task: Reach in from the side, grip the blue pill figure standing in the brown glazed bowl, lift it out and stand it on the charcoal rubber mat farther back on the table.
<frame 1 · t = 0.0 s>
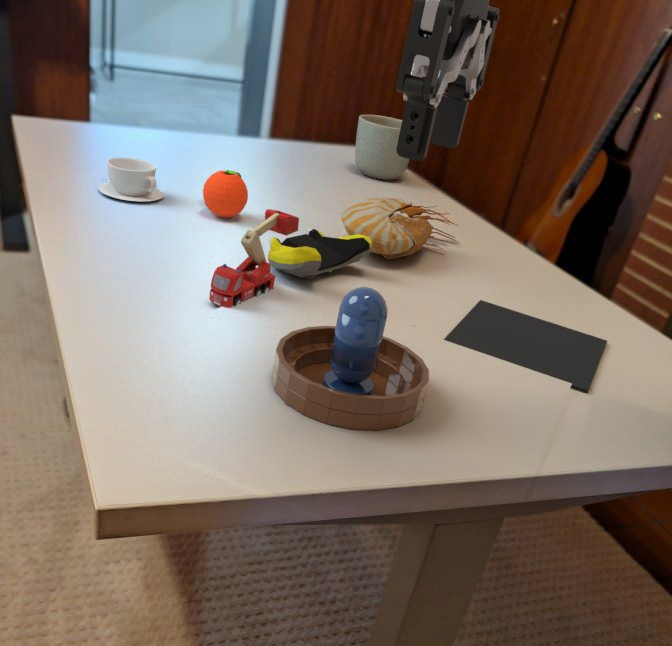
hand: (428, 151, 60), 25 cm above the table, tool pointing down, fingers open, 8 cm apart
blue pill figure: (347, 389, 76), point 1 cm above the table, touching bowl
planter: (378, 176, 161), on the table
mat: (528, 343, 96), on the table
black yellow sneaker: (312, 273, 105), on the table
clementine: (225, 217, 119), on the table
bowl: (346, 394, 77), on the table
toy fire truck: (249, 296, 94), on the table
nautilus shell: (399, 254, 119), on the table
teacup: (131, 195, 120), on the table
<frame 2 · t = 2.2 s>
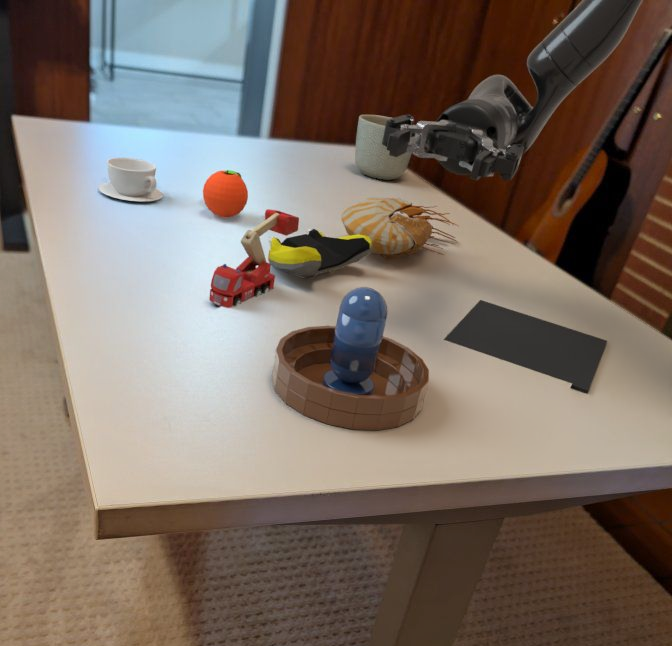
hand: (434, 157, 74), 22 cm above the table, tool horizontal, fingers open, 8 cm apart
nothing on the table moved.
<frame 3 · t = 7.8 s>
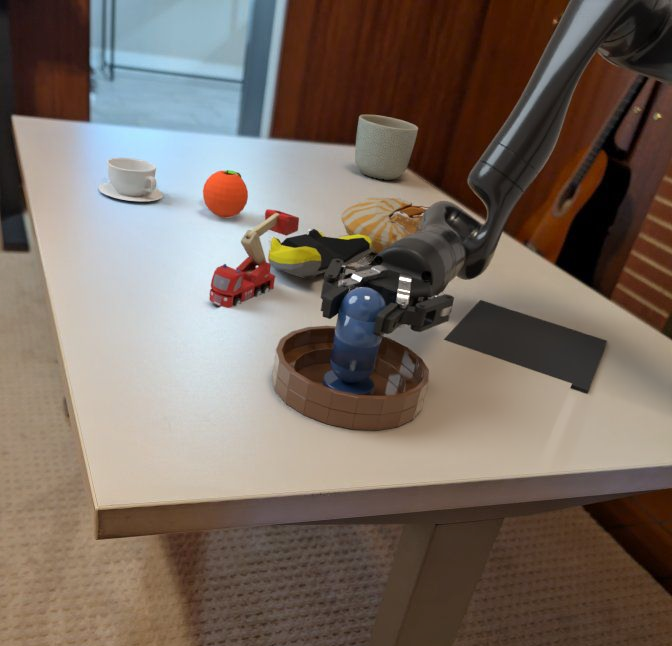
hand: (353, 317, 69), 9 cm above the table, tool horizontal, fingers closed on blue pill figure, 4 cm apart
blue pill figure: (347, 389, 76), point 1 cm above the table, touching bowl, gripper
everything else where it was.
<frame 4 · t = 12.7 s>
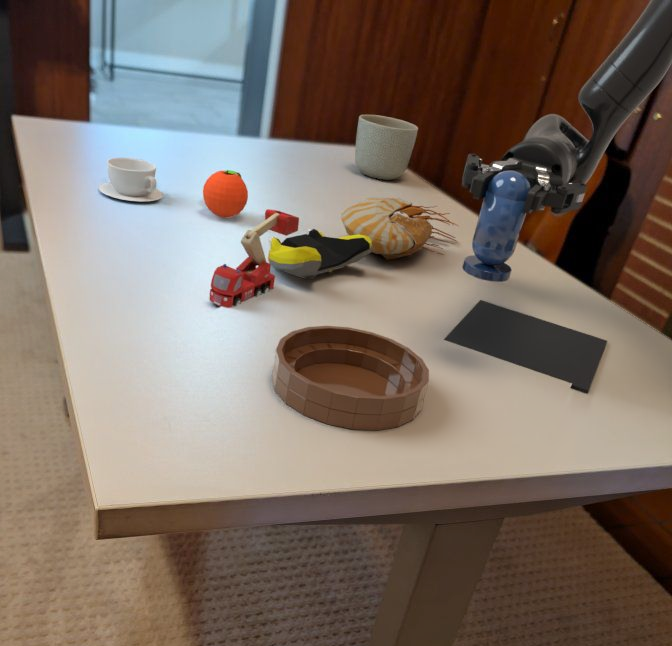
hand: (503, 195, 75), 20 cm above the table, tool horizontal, fingers closed on blue pill figure, 4 cm apart
blue pill figure: (485, 272, 82), point 11 cm above the table, touching gripper
everything else where it was.
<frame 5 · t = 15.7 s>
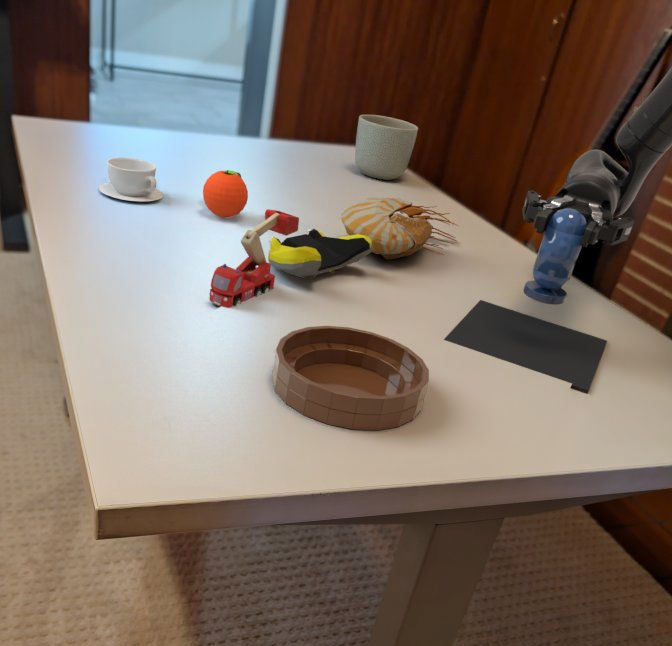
hand: (563, 231, 86), 15 cm above the table, tool horizontal, fingers closed on blue pill figure, 4 cm apart
blue pill figure: (543, 296, 93), point 6 cm above the table, touching gripper
everything else where it was.
when the fingers open (9 cm above the table, at t = 17.8 s): blue pill figure stays where it is, resting on mat.
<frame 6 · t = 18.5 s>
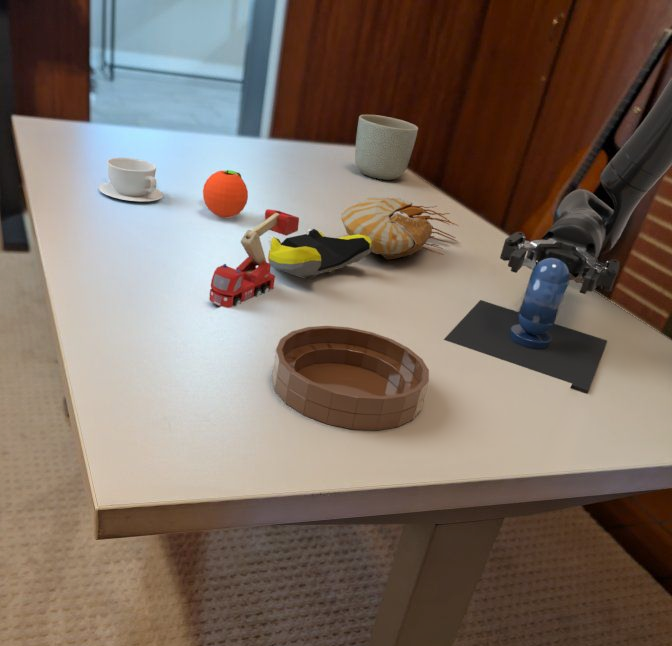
hand: (550, 274, 90), 10 cm above the table, tool horizontal, fingers open, 8 cm apart
blue pill figure: (528, 340, 96), resting on mat
everything else where it was.
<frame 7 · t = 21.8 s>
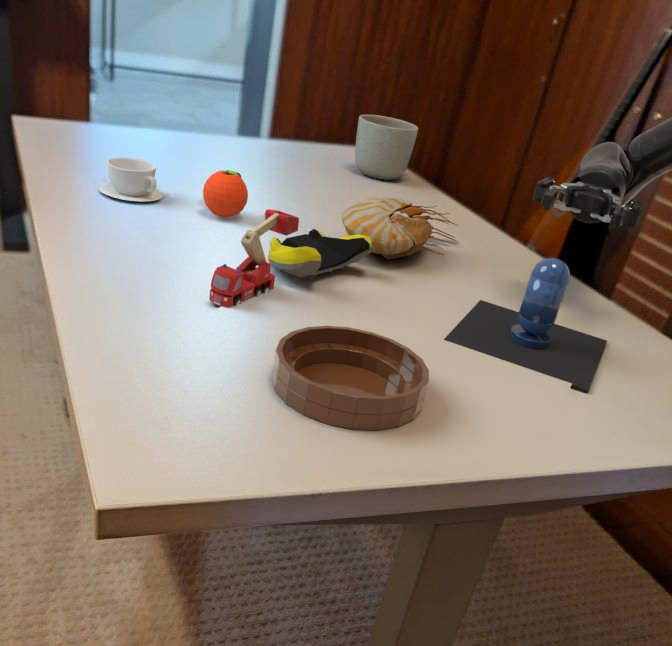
hand: (580, 211, 97), 15 cm above the table, tool horizontal, fingers open, 8 cm apart
nothing on the table moved.
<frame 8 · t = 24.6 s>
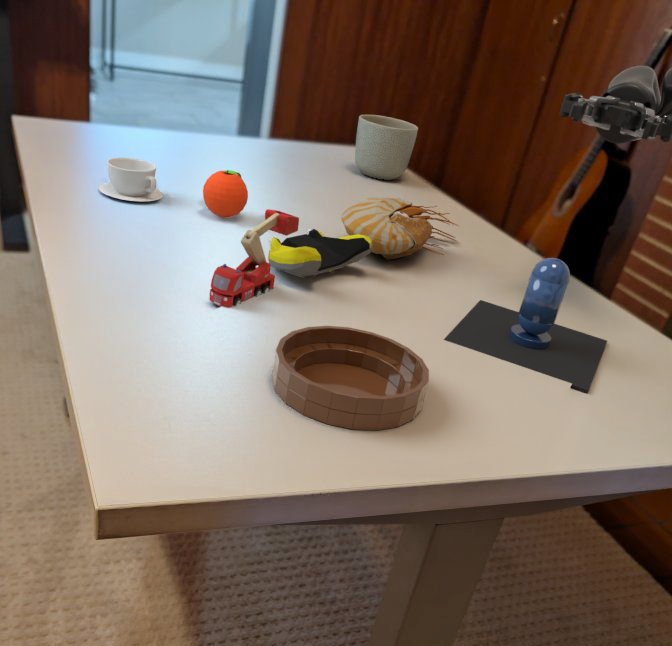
hand: (612, 121, 92), 26 cm above the table, tool horizontal, fingers open, 8 cm apart
nothing on the table moved.
at the end: blue pill figure inside the target area on the mat (0.1 cm from its centre), point 0.4 cm above the mat's base; blue pill figure tilted 0°; blue pill figure touching mat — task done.
